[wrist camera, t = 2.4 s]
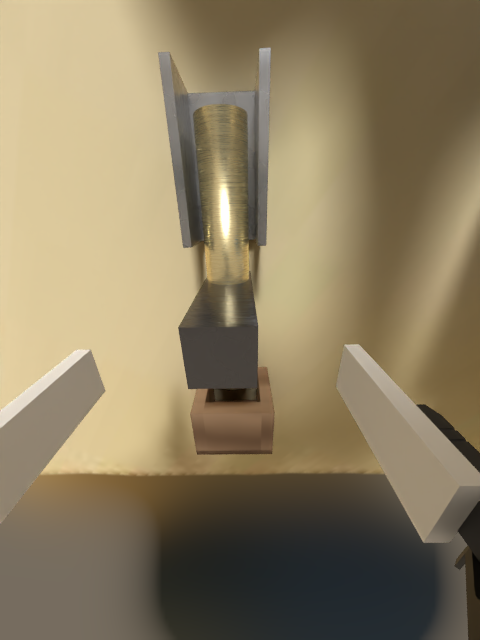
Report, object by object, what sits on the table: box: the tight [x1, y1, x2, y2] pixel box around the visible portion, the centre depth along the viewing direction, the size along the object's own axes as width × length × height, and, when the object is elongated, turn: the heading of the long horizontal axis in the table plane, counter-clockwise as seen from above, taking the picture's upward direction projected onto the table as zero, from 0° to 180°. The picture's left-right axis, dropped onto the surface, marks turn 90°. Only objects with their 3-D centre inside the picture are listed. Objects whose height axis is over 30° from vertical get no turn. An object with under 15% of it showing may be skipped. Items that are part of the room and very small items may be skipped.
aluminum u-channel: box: [158, 48, 271, 248], centre depth 16 cm, size 10×6×6 cm, turn 1°
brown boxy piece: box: [190, 367, 274, 454], centre depth 26 cm, size 6×8×7 cm
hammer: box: [178, 104, 258, 390], centre depth 17 cm, size 22×4×12 cm, turn 1°
